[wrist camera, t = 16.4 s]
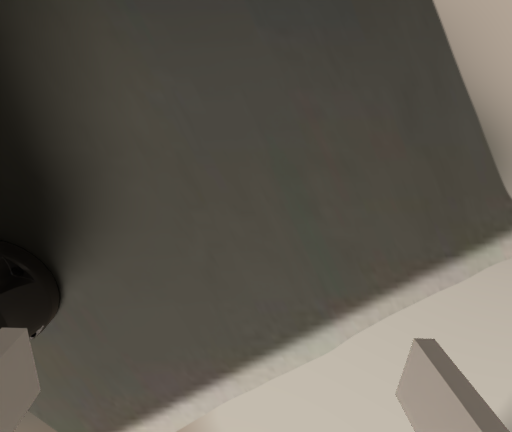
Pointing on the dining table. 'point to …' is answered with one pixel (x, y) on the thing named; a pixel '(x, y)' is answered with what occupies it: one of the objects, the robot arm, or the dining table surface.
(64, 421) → the dining table surface
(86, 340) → the dining table surface
